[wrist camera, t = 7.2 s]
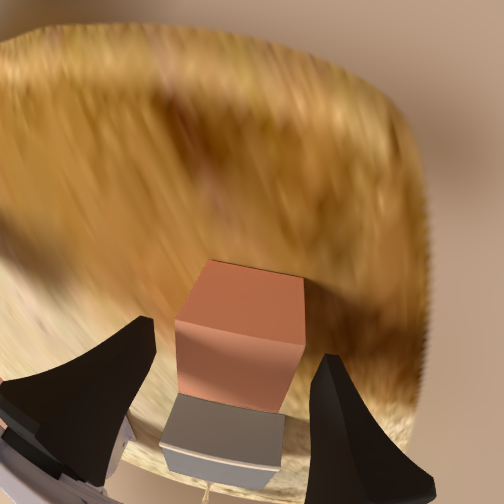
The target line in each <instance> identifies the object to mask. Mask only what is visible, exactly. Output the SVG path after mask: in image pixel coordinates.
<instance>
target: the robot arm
mask: <svg viewBox="0 0 504 504" xmlns="http://www.w3.org/2000/svg"><path fill="white" fill-rule="evenodd" d="M156 352H157V351H156V342H155V333H154V322H153V319H151V318H148V317H144V316H141V315H140V316H139V317H138V318H136V319H135V320H133V321H132V322H130V323H129V324H128V325H126V326H125V327H124V328H122V329H121V330H119V331H118V332H117V333H115V334H114V335H112V336H111V337H110V338H108V339H107V340H105V341H104V342H102V343H101V344H99V345H98V346H96V347H94V348H93V349H91V350H90V351H88V352H86V353H85V354H83V355H81V356H79V357H77V358H75V359H73V360H71V361H69V362H67V363H65V364H63V365H60V366H58V367H55V368H53V369H50V370H48V371H45V372H42V373H39V374H36V375H32V376H28V377H24V378H20V379H14V380H8V381H3V382H2V383H1V385H0V418H1V419H2V420H3V421H4V422H5V424H6V425H7V426H8V427H7V428H6V430H5V429H4V428H3V427H2V426H1V425H0V489H1V490H2V491H3V492H4V493H5V494H6V495H7V496H8V497H9V498H11V499H12V501H13V502H14V504H122V503H120V502H118V501H115V500H113V499H111V498H109V497H108V495H107V491H106V490H105V489H104V488H103V487H104V483H105V479H108V478H109V477H111V476H112V475H113V473H114V472H115V470H116V468H117V466H118V463H119V461H120V459H121V456H122V454H123V452H124V450H125V447H126V445H127V443H128V441H129V440H130V441H133V442H136V440H137V439H136V437H135V435H134V433H133V431H132V428H131V426H130V424H129V421H128V419H127V417H126V413H127V411H128V409H129V407H130V405H131V403H132V401H133V400H134V398H135V396H136V394H137V392H138V390H139V389H140V387H141V385H142V383H143V381H144V380H145V378H146V376H147V374H148V372H149V370H150V367H151V365H152V363H153V360H154V357H155V355H156ZM309 413H310V436H311V459H310V469H309V478H308V485H307V492H306V498H305V503H304V504H427V503H429V502H431V501H433V500H434V499H435V498H436V489H435V483H434V479H433V477H432V476H430V475H429V474H427V473H426V472H425V471H424V470H422V469H421V468H420V467H418V466H417V465H416V464H415V463H414V462H412V461H411V460H410V459H409V458H408V457H407V456H406V455H405V454H404V453H403V452H402V451H401V450H400V449H399V448H398V447H397V446H396V445H395V444H394V443H393V442H392V441H391V440H390V438H389V437H388V436H387V435H386V434H385V433H384V431H383V430H382V429H381V427H380V426H379V425H378V423H377V422H376V421H375V419H374V418H373V416H372V415H371V413H370V412H369V410H368V408H367V407H366V405H365V404H364V402H363V400H362V398H361V397H360V395H359V393H358V391H357V390H356V388H355V386H354V384H353V382H352V380H351V378H350V376H349V374H348V372H347V371H346V368H345V366H344V364H343V362H342V360H341V358H340V357H339V355H331V354H324V357H323V359H322V361H321V363H320V365H319V367H318V370H317V372H316V374H315V376H314V378H313V380H312V382H311V387H310V400H309Z"/></svg>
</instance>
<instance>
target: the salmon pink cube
mask: <svg viewBox="0 0 504 504" xmlns="http://www.w3.org/2000/svg"><path fill="white" fill-rule="evenodd" d="M175 338H176V359H177V375H178V388H179V392H180V393H183V394H187V395H191V396H194V397H198V398H202V399H206V400H211V401H215V402H219V403H224V404H228V405H233V406H238V407H244V408H249V409H255V410H260V411H267V412H273V413H278V412H279V410H280V407H281V405H282V403H283V400H284V398H285V396H286V394H287V391H288V389H289V386H290V384H291V382H292V379H293V377H294V374H295V372H296V369H297V367H298V364H299V362H300V359H301V357H302V354H303V352H304V349H305V346H306V336H305V303H304V280H303V278H301V277H295V276H290V275H285V274H279V273H274V272H269V271H264V270H258V269H253V268H248V267H243V266H238V265H233V264H227V263H222V262H217V261H212V260H208V262H207V263H206V265H205V267H204V269H203V270H202V272H201V274H200V276H199V277H198V279H197V281H196V283H195V284H194V286H193V288H192V290H191V291H190V293H189V295H188V297H187V298H186V300H185V302H184V304H183V306H182V307H181V309H180V311H179V313H178V315H177V316H176V318H175Z"/></svg>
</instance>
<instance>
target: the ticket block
mask: <svg viewBox="0 0 504 504" xmlns="http://www.w3.org/2000/svg"><path fill="white" fill-rule="evenodd" d="M284 422H285V415H281V414H274V413H267V412H261V411H255V410H249V409H244V408H238V407H233V406H229V405H224V404H219V403H215V402H211V401H207V400H202V399H198V398H195V397H191V396H187V395H183V394H180V393H178V395H177V398H176V400H175V403H174V405H173V408H172V410H171V413H170V415H169V418H168V421H167V423H166V426H165V428H164V431H163V433H162V436H161V439H160V443H159V446H160V447H161V448H162V451H163V454H164V457H165V460H166V463H167V465H168V468H169V471H173V472H176V473H179V474H183V475H186V476H190V477H194V478H198V479H202V480H206V481H211V482H215V483H220V484H225V485H231V486H237V487H243V488H249V489H257V490H262V489H263V488H264V487H265V485H266V484H267V483H268V482H269V481H270V479H271V478H272V477H273V476H274V474H275V473H276V472H277V471H279V470H280V467H281V456H282V446H283V434H284Z"/></svg>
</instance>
